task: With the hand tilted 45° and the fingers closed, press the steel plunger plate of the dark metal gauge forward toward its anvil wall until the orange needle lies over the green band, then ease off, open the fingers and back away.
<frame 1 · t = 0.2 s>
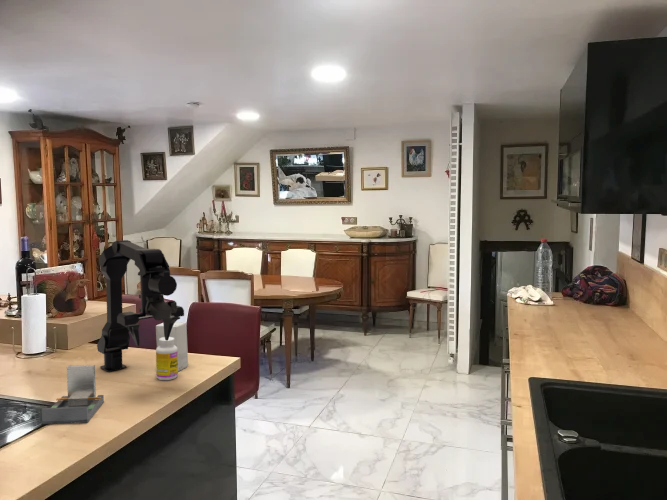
hand: (152, 343, 158), 15 cm above the kitchen island, tool pointing down, fingers open, 9 cm apart
supplement bottle: (167, 378, 171), on the kitchen island
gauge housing: (73, 414, 141), on the kitchen island
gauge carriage: (79, 385, 146), point 6 cm above the kitchen island, slide at 0.0 cm
skincare box: (172, 368, 180), on the kitchen island
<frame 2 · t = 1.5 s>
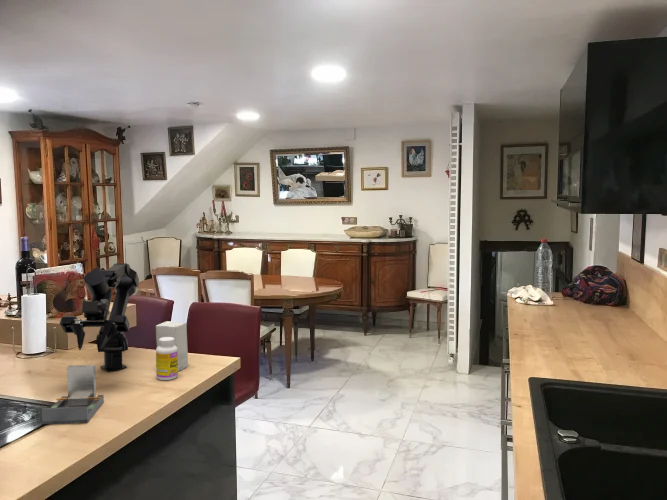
hand: (89, 349, 154), 14 cm above the kitchen island, tool tilted 45°, fingers open, 5 cm apart
nothing on the kitchen island moved.
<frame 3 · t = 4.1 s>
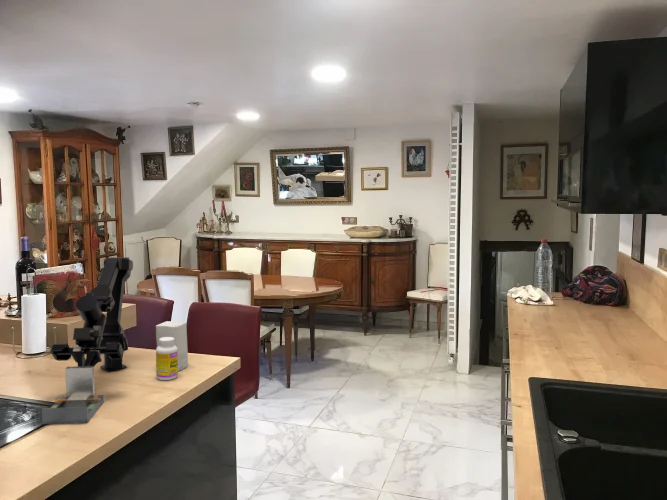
hand: (81, 378, 148), 7 cm above the kitchen island, tool tilted 45°, fingers closed, pressing on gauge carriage
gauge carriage: (78, 386, 145), point 6 cm above the kitchen island, slide at 1.0 cm, touching gripper
everything else where it was.
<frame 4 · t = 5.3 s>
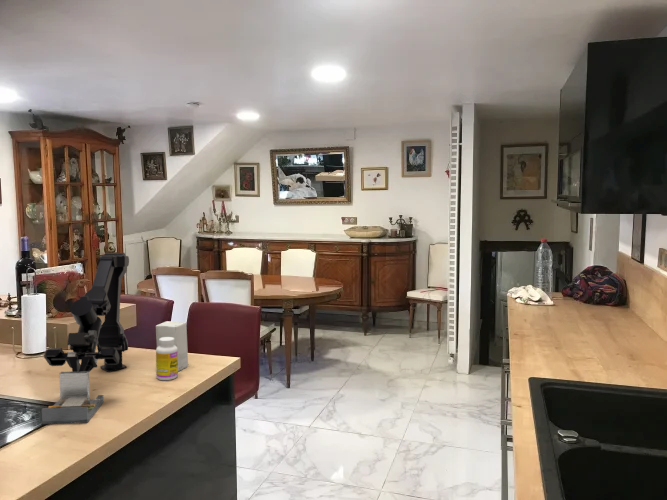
hand: (76, 384, 143), 7 cm above the kitchen island, tool tilted 45°, fingers closed
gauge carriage: (73, 392, 141), point 6 cm above the kitchen island, slide at 5.3 cm
everything else where it was.
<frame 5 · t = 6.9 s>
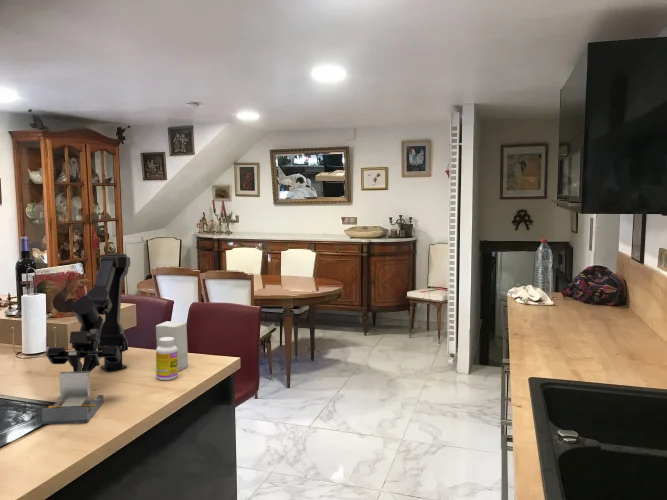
hand: (77, 382, 145), 7 cm above the kitchen island, tool tilted 45°, fingers closed
nothing on the kitchen island moved.
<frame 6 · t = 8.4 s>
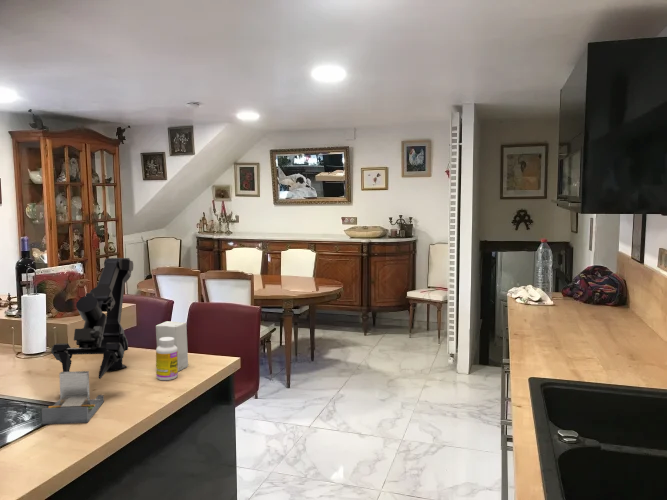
hand: (82, 378, 148), 7 cm above the kitchen island, tool tilted 45°, fingers open, 9 cm apart
nothing on the kitchen island moved.
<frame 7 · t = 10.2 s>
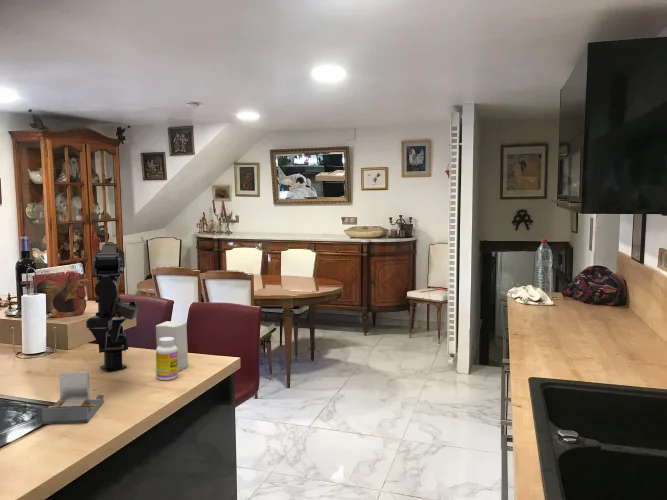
hand: (109, 345, 160), 13 cm above the kitchen island, tool pointing down, fingers open, 9 cm apart
nothing on the kitchen island moved.
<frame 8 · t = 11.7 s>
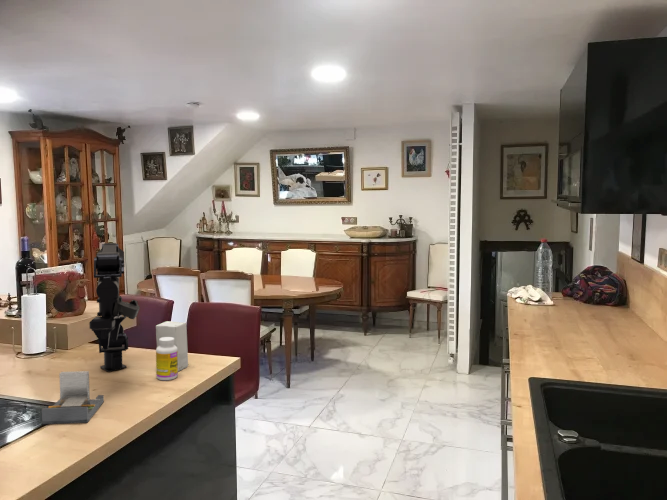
hand: (110, 344, 161), 13 cm above the kitchen island, tool pointing down, fingers open, 9 cm apart
nothing on the kitchen island moved.
at the end: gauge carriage slide at 5.3 cm; supplement bottle moved 0.2 cm from its start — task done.
